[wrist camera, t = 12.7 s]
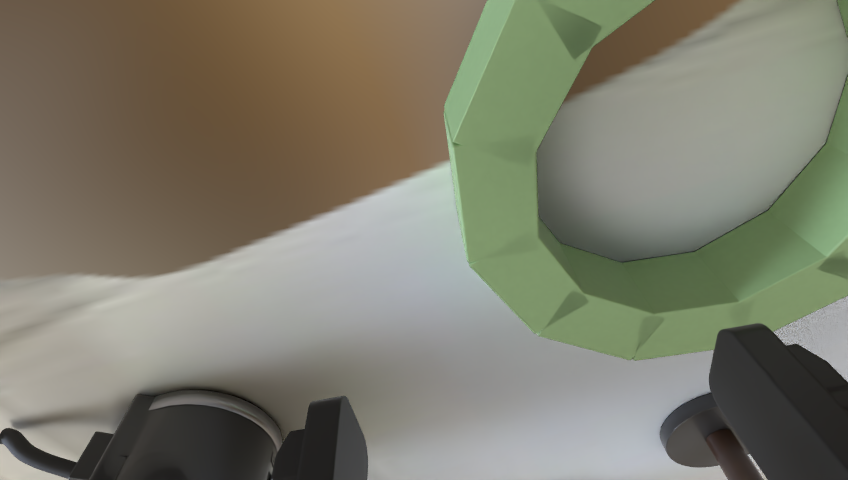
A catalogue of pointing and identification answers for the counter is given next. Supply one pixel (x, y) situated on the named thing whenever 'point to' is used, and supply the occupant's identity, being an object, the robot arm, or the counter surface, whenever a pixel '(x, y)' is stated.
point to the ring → (598, 276)
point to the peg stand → (706, 440)
